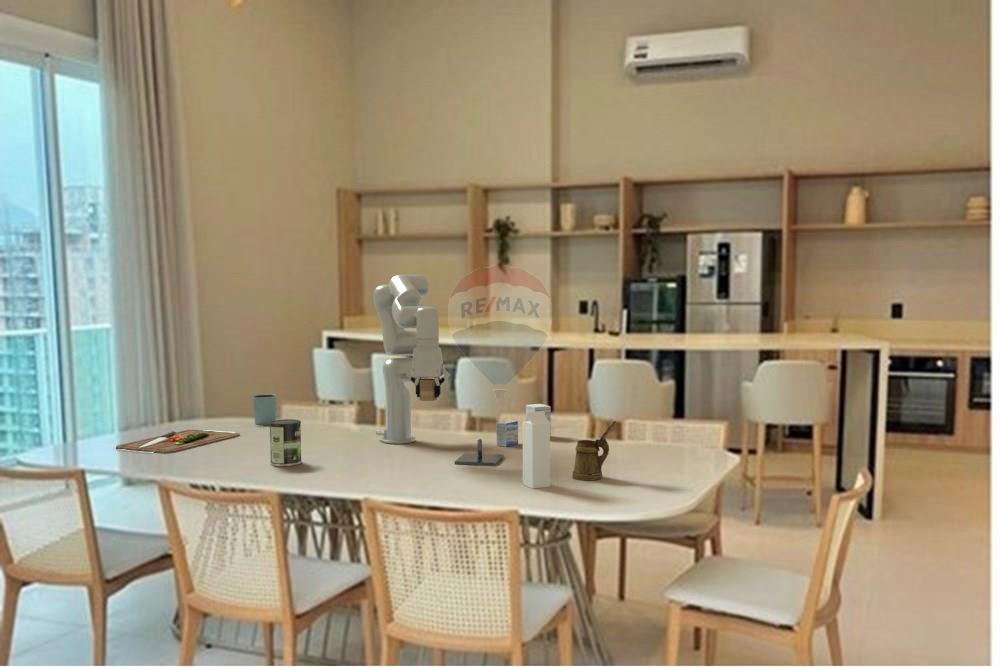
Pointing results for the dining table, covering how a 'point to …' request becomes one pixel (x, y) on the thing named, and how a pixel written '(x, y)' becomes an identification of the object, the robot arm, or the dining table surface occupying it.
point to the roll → (427, 389)
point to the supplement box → (540, 408)
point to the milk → (536, 450)
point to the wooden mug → (591, 457)
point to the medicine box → (507, 433)
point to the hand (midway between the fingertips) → (428, 396)
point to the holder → (479, 457)
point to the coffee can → (285, 442)
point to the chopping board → (176, 441)
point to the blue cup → (264, 408)
